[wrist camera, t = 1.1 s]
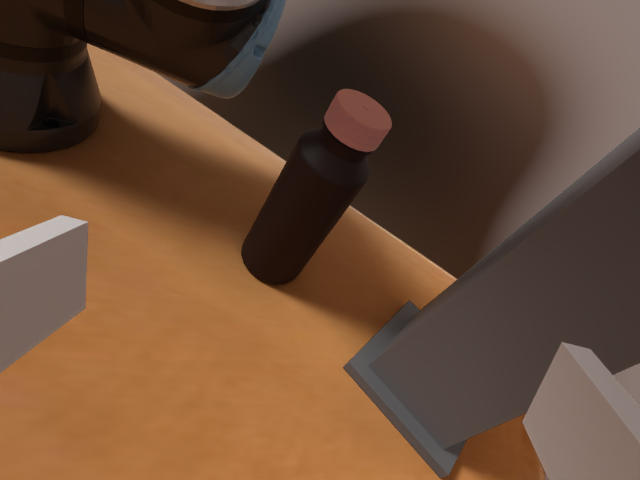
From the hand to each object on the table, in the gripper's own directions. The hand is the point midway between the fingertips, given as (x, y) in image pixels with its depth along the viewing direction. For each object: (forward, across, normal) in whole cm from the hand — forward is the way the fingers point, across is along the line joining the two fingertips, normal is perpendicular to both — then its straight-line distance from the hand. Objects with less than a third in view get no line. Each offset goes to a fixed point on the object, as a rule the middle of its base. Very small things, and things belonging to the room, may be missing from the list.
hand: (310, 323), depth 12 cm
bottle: (+31, -6, -13) cm, 34 cm away
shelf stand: (+28, +12, -20) cm, 37 cm away
